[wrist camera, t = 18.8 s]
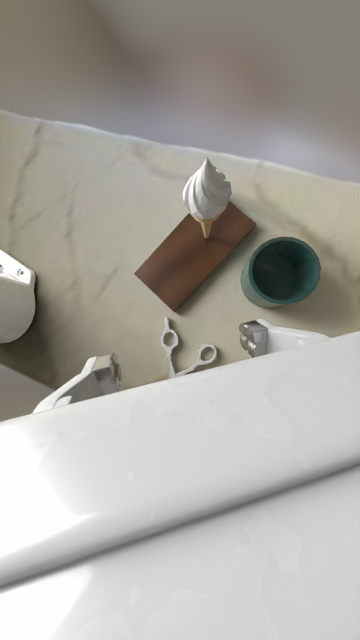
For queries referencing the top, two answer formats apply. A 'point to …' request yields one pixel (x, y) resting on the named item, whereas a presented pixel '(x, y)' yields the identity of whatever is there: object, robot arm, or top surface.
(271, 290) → the cup
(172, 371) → the scissors
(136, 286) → the top surface
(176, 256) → the board
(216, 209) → the ice cream cone
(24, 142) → the top surface
